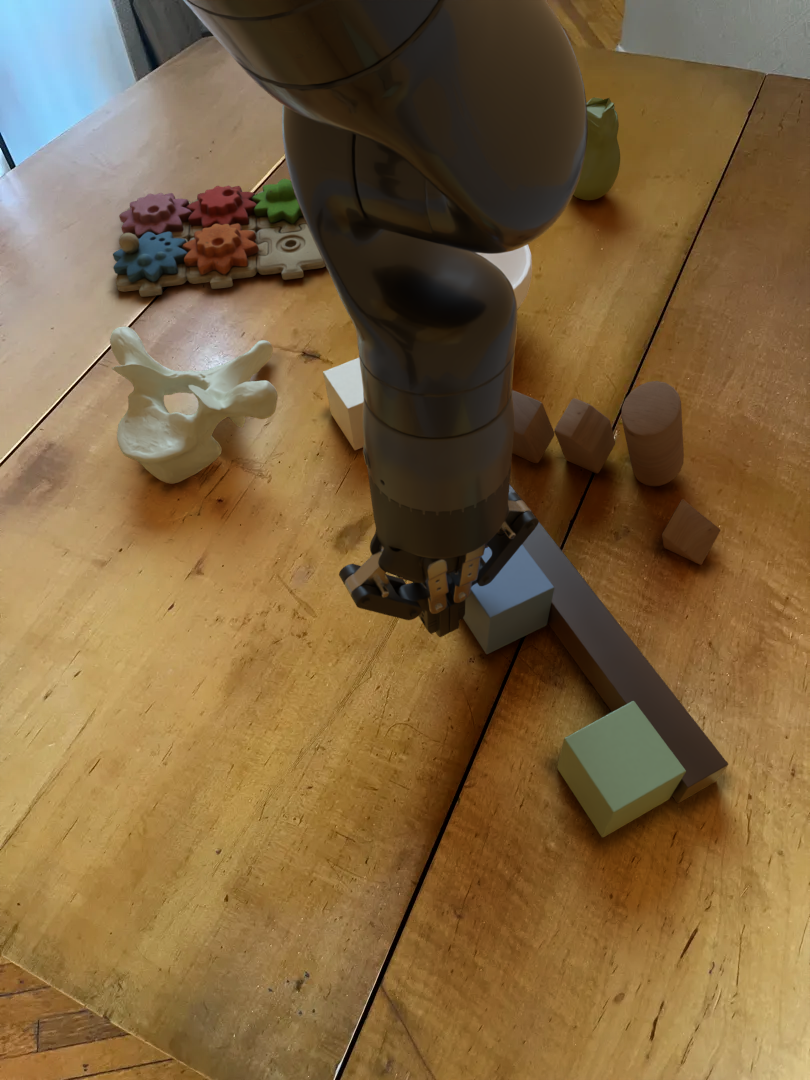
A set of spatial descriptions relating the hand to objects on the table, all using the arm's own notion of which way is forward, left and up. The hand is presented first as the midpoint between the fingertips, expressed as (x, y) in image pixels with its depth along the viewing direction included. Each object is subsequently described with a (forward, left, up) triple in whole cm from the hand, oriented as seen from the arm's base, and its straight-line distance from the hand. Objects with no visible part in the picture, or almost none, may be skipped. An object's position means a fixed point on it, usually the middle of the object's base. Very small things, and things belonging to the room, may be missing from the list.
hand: (442, 622), depth 56 cm
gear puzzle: (+7, +52, -3) cm, 53 cm away
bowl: (+17, +29, -3) cm, 34 cm away
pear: (+40, +40, -3) cm, 56 cm away
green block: (+4, -14, -3) cm, 15 cm away
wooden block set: (+19, +6, -3) cm, 20 cm away
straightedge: (+9, +2, -3) cm, 9 cm away
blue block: (+5, 0, -3) cm, 5 cm away
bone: (-7, +29, -3) cm, 30 cm away
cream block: (+5, +22, -3) cm, 23 cm away
